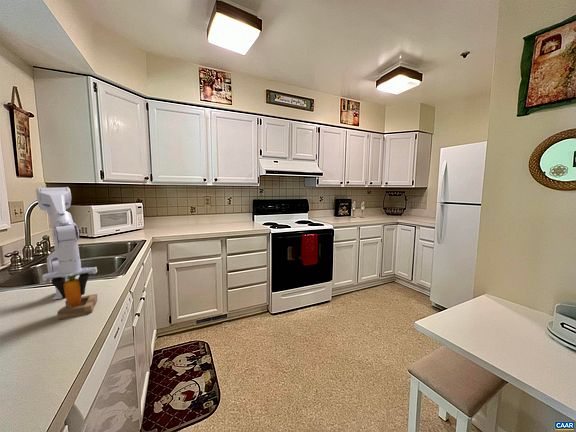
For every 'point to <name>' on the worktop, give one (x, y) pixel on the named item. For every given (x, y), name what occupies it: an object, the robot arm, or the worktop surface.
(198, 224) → the worktop surface
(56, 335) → the worktop surface
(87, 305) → the walnut bracket
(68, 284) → the carrot
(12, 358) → the worktop surface
